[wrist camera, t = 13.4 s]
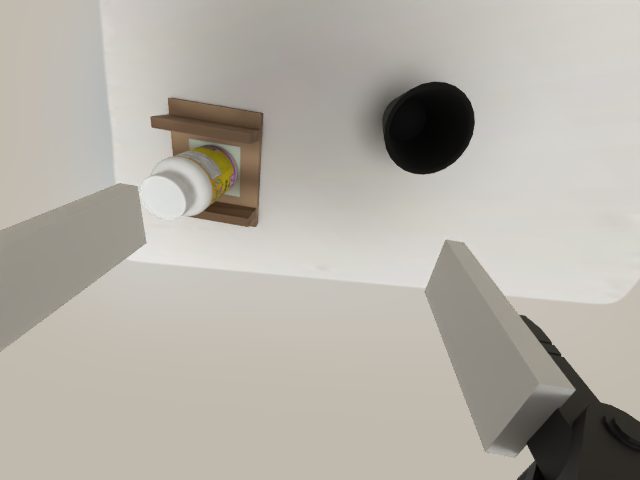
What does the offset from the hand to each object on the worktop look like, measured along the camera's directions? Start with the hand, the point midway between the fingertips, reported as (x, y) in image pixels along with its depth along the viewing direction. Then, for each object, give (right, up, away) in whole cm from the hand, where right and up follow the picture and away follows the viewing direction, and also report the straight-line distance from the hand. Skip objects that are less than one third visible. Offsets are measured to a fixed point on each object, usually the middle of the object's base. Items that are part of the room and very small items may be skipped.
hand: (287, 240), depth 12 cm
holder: (-13, +10, +28) cm, 33 cm away
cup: (+12, +15, +24) cm, 31 cm away
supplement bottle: (-13, +10, +27) cm, 32 cm away
